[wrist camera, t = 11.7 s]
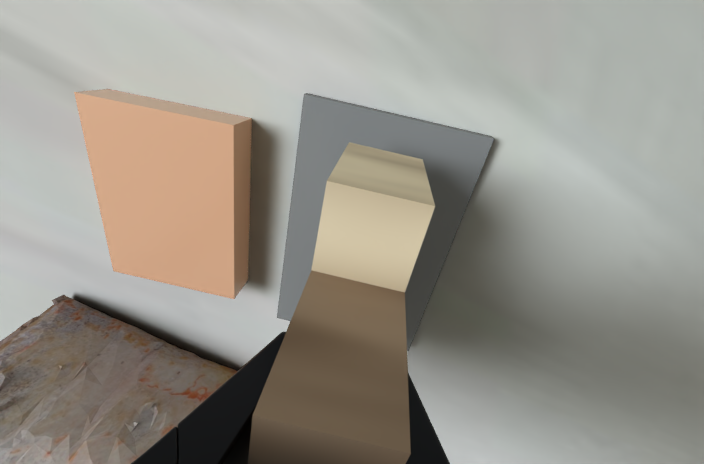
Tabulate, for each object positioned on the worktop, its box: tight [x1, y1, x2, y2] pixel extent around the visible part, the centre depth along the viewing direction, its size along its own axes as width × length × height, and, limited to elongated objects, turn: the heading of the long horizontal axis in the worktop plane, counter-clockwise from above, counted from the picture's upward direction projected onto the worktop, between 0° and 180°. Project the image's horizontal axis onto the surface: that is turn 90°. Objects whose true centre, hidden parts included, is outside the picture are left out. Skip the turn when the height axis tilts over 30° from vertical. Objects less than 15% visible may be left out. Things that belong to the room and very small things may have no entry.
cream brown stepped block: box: [248, 142, 435, 464], centre depth 10 cm, size 9×2×8 cm, turn 169°
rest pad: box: [277, 93, 494, 351], centre depth 15 cm, size 11×7×1 cm, turn 169°
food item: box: [0, 295, 237, 464], centre depth 17 cm, size 14×8×10 cm, turn 64°
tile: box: [74, 89, 252, 299], centre depth 15 cm, size 8×2×6 cm
